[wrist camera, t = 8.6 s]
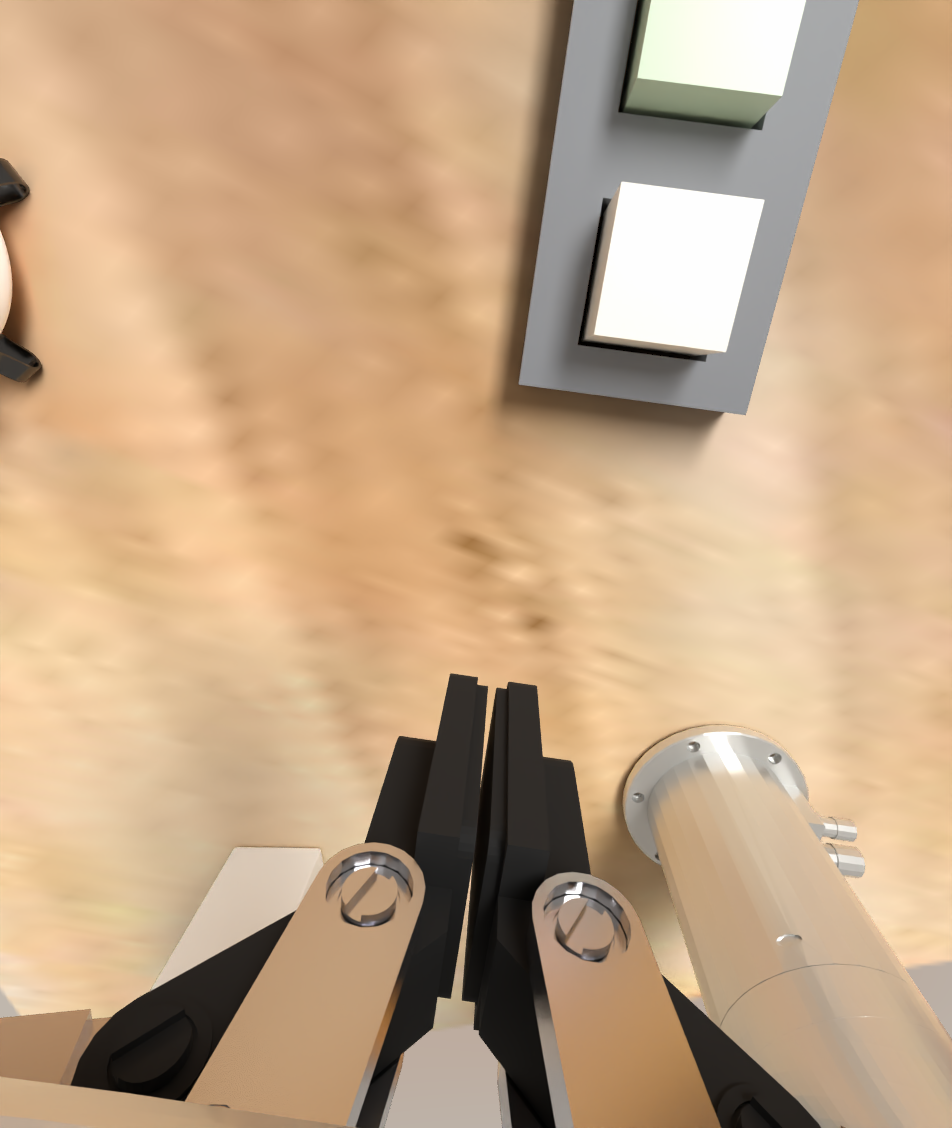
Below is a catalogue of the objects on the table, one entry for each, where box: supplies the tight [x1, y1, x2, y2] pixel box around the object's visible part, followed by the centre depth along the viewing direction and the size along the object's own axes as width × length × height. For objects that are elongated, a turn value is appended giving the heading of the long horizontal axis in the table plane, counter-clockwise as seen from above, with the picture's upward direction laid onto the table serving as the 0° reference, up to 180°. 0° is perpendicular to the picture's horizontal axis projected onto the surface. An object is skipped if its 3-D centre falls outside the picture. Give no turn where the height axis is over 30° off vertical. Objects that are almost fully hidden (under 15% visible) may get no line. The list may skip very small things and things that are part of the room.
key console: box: [518, 0, 859, 415], centre depth 26 cm, size 12×31×3 cm, turn 173°
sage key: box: [619, 0, 806, 129], centre depth 25 cm, size 6×6×5 cm
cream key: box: [581, 182, 764, 356], centre depth 27 cm, size 6×6×5 cm
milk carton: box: [150, 847, 323, 991], centre depth 37 cm, size 7×7×19 cm
